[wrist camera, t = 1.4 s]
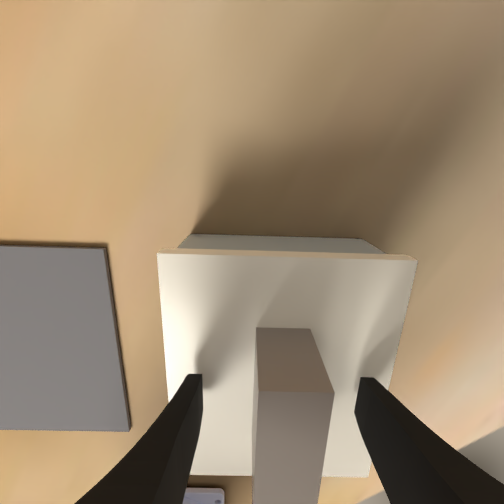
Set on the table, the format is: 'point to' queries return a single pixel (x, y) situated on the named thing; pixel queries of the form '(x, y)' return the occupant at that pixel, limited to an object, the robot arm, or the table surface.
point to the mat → (59, 341)
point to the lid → (281, 357)
